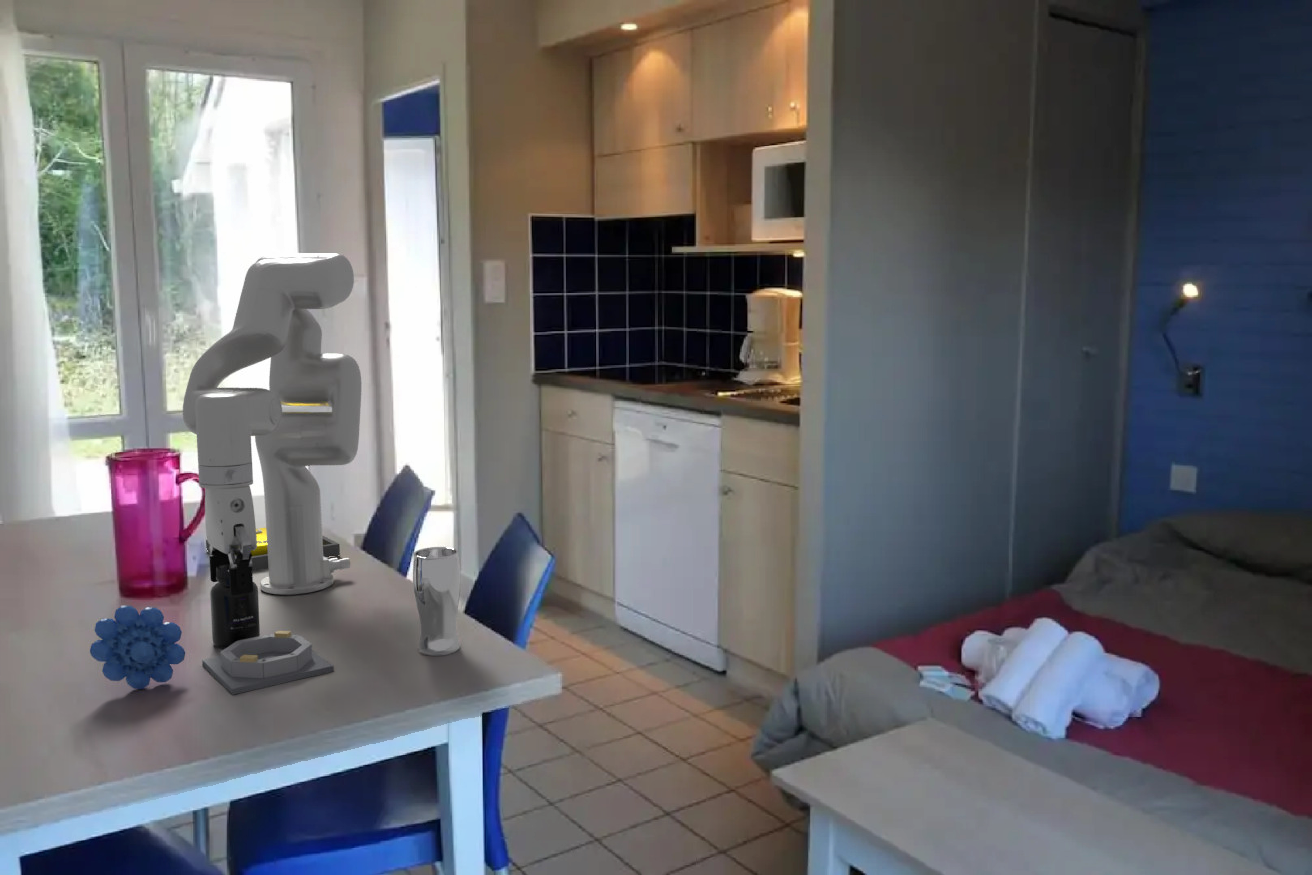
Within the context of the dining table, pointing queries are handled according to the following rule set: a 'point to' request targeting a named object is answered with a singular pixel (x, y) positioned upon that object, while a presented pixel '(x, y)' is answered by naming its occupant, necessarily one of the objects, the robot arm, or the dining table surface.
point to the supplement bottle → (232, 611)
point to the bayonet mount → (266, 662)
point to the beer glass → (437, 598)
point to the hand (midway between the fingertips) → (231, 586)
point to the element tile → (260, 543)
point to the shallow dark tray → (262, 560)
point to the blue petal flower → (137, 646)
